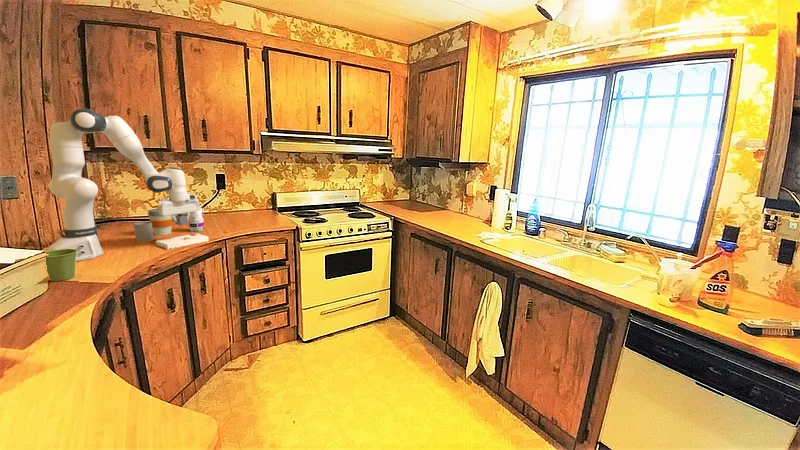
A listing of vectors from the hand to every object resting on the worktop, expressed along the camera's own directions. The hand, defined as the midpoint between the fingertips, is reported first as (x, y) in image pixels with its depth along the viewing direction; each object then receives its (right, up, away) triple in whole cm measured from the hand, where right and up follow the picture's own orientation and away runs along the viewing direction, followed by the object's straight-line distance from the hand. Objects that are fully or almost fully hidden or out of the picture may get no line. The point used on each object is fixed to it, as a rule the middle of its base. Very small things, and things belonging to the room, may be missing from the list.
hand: (181, 221), depth 200 cm
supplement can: (-9, -6, +31) cm, 33 cm away
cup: (-26, -11, +7) cm, 29 cm away
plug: (0, -2, 0) cm, 2 cm away
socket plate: (0, -12, +2) cm, 13 cm away
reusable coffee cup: (-25, -8, +22) cm, 34 cm away
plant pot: (-17, -25, -53) cm, 60 cm away
